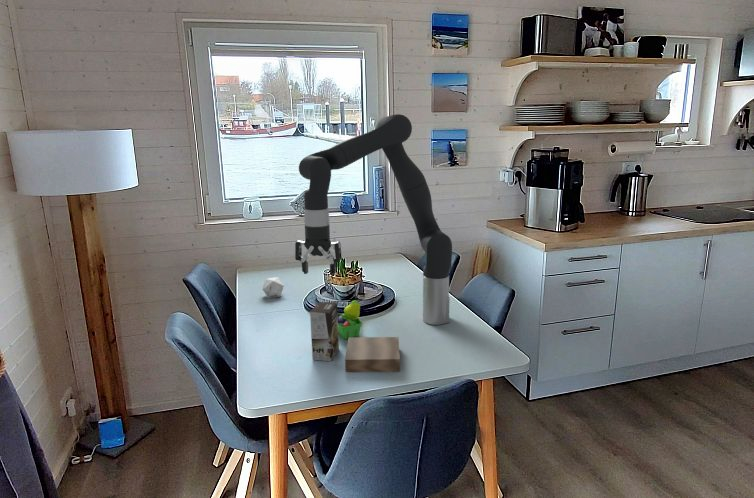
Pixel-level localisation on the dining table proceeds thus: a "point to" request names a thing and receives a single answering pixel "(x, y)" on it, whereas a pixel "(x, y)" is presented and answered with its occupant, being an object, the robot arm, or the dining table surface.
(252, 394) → the dining table surface
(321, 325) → the coffee box
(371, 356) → the wooden block
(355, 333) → the fruit basket
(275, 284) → the die
